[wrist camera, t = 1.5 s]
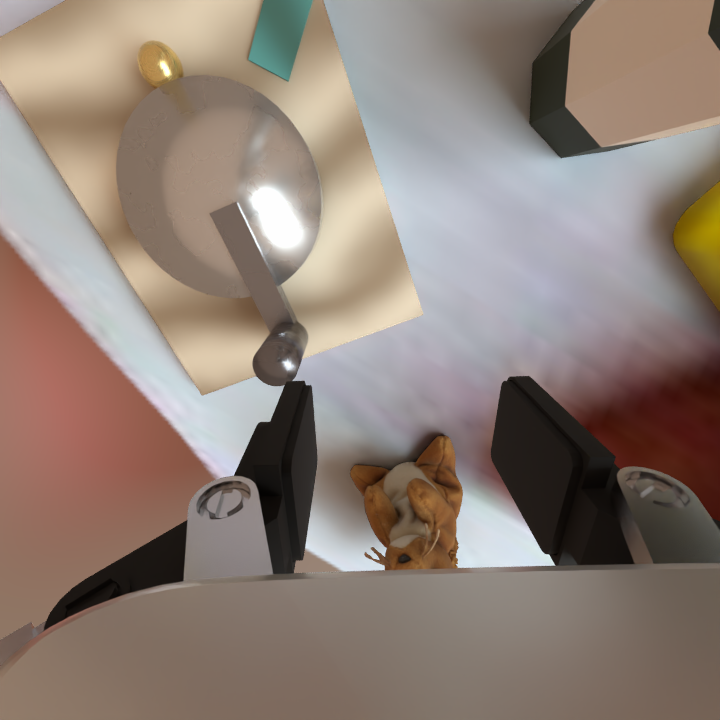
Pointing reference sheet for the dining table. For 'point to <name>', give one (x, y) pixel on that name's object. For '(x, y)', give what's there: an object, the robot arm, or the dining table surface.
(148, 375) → the dining table surface
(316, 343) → the stand board
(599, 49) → the wine bottle
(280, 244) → the silver rounded piece
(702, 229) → the element tile
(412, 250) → the dining table surface
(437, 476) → the stuffed squirrel
